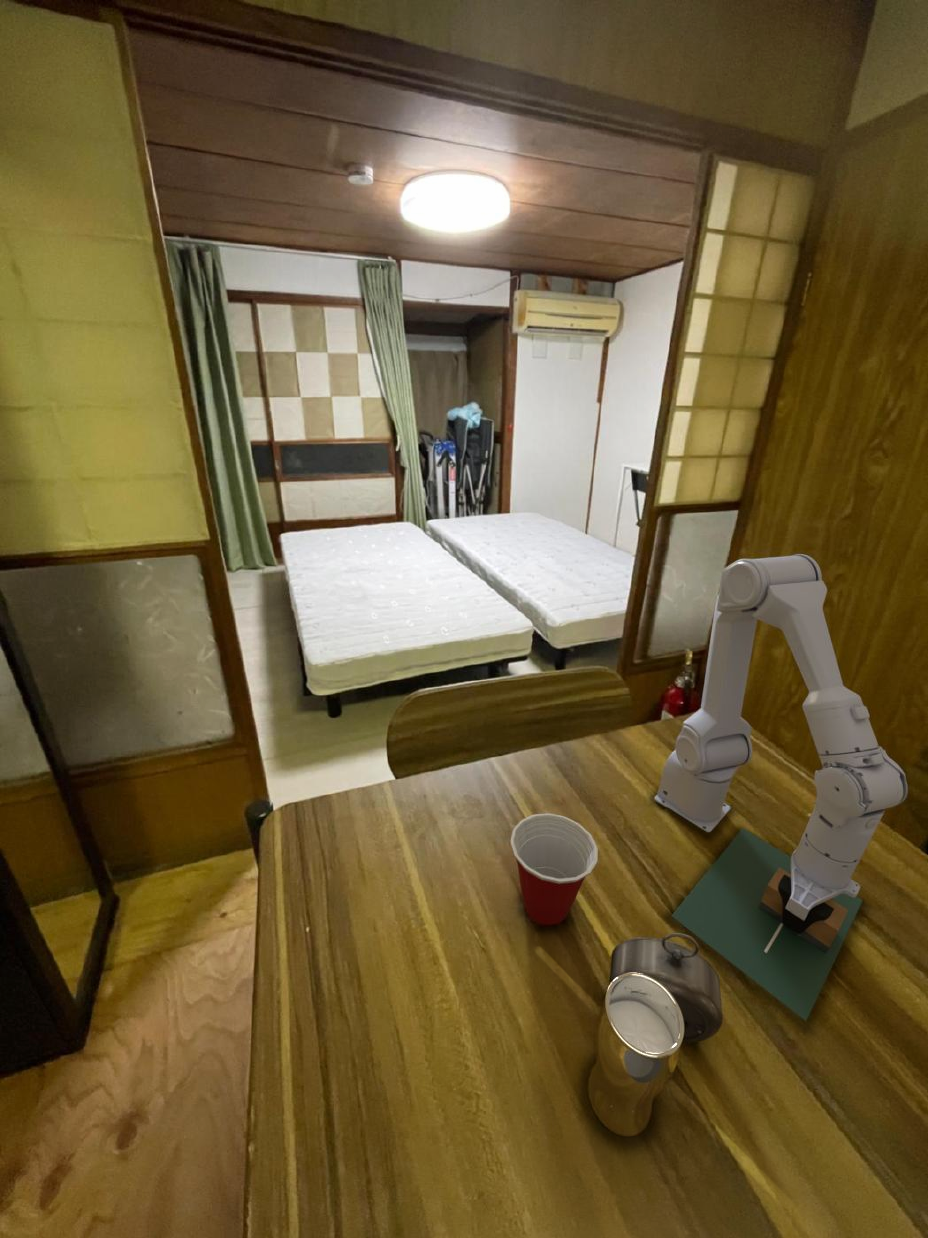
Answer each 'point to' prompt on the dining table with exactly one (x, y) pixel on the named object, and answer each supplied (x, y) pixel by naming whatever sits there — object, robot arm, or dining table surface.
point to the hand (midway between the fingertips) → (798, 916)
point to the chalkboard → (760, 924)
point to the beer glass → (633, 1051)
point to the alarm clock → (676, 979)
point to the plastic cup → (551, 864)
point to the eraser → (816, 933)
